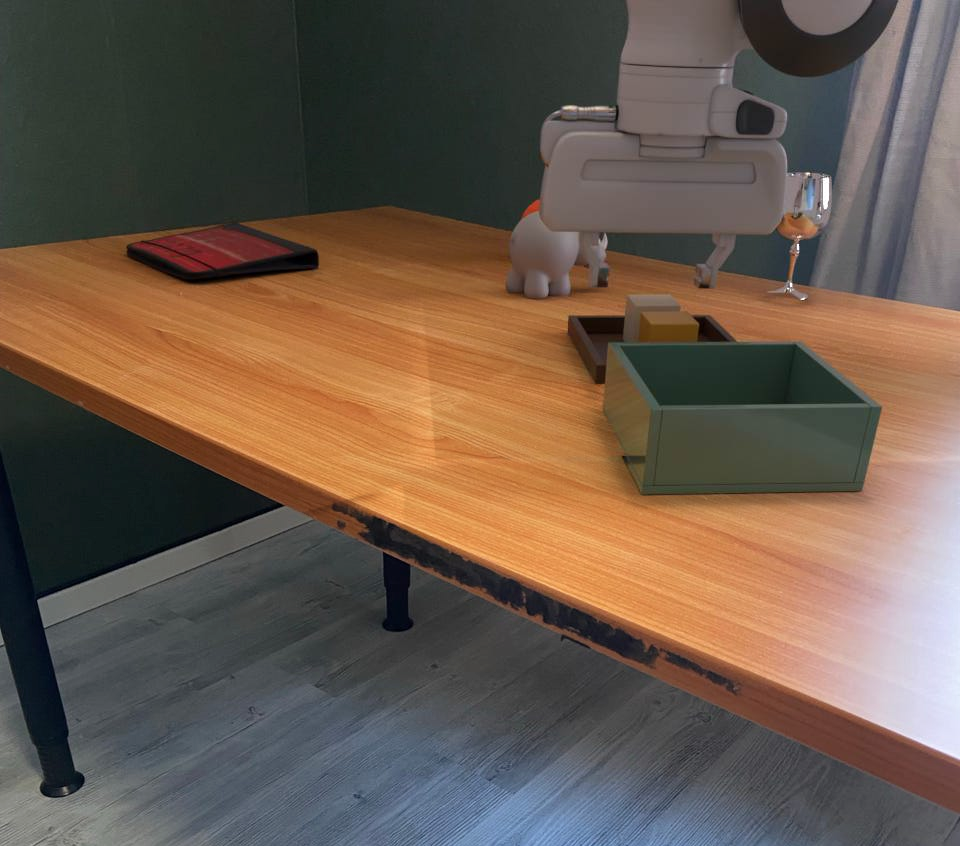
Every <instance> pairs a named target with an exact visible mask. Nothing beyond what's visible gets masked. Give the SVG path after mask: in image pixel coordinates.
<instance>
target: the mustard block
mask: <svg viewBox="0 0 960 846" xmlns="http://www.w3.org/2000/svg"><path fill="white" fill-rule="evenodd" d="M691 315H692V314H690V313H689V312H688V311H684V310H683V311H668V312H641V315H640V325H639V335H638V342H697V336H698V329H699V323H698V322H697V321H696V320H695V319H694V318H693V317H692V316H691Z"/></svg>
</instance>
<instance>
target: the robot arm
mask: <svg viewBox="0 0 960 846" xmlns="http://www.w3.org/2000/svg"><path fill="white" fill-rule="evenodd" d="M625 1H626V2H625V3H626V8H627V19H628V21H627V22H628V23H627V24H628V26H627V33H626V39H625V42H624V45H623V48H622V50H621V54H620V59H619V69H618V70H619V71H618V82H617V93H616V102H615V103H616V105H591V106H578V105H576V104H567V105H562V106H561V107H560V110H556V111H554V112H552V113H550V114H549V115H548V116H547V117H546V118H545V120H544V121H543V123H542V126H541V129H540V142H539V153H540V157H541V160H542V162H543V163H544V169H543V175H542V181H541V187H540V189H541V190H540V195H539V199H540V203H539V216H540V219H541V220H542V222H543V223H544V225H545V226H546V227H547V228H548V229H549V230H551V231H554V232H579V244H580V246H581V248H582V250H583V252H584V254H585V257H586V259H587V261H588V263H589V269H588V275H587V276H588V277H587V279H588V280H587V283H588V286H589V288H592V289H593V288H594V289H595V288H596V289H597V288H598V289H599V288H603V289H604V288H609V279H608V277H609V276H610V268H611V267H610V266H609V265H608V263H607V262H603V263H599V262H598V260H597V258H596V255H595V253H594V251H593V249H592V245H593V246H598V245H599V239H600V233H624V234H625V233H628V234H635V233H636V234H690V235H691V234H692V235H693V234H694V235H695V234H698V235H699V234H701V235H703V234H704V235H709V234H710V235H712V239H711V242H712V243H713V244H714V245H715V248H714V249H713V251H712V253H711V254H710V256H709V257H708V259H707V261H706V262H705V263H696V264H695V276H694V279H693V284H694V287H696V288H697V290H698V289H701V290H702V289H703V290H706V289H707V290H714V289H715V288H716V286H717V279H718V272H719V269H721V267H722V266H723V264H724V263H725V262H726V260H727V259H728V258H729V256H730V255H731V253H732V252H733V251H734V249H735V246H736V241H737V235H765V236H766V235H770V234H772V233H773V232H774V231H775V230H776V229H775V228H776V227H777V226H778V225H779V224H780V222H781V220H782V215H783V210H784V203H785V195H786V184H787V173H788V156H787V153H786V149H785V147H784V146H783V145H782V143H781V142H779V141H778V140H776V139H777V138H780V137H782V136H783V135H784V133H785V130H786V127H787V124H788V123H787V122H788V112H787V111H786V109H785V108H783V107H781V106H780V105H778V104H775V103H773V102H770V101H767V100H765V99H763V98H761V97H758V96H755V95H754V94H755V93H754V92H751V91H750V90H746V89H742V88H736V87H733V86H734V84H733V75H734V69H735V68H734V67H735V63H736V58H737V56H738V54H739V53H740V52H742V51H744V50H754V51H755V52H756V54H757V55H758V56H759V57H760V58H761V59H762V60H763V61H764V62H765V63H766V64H767V65H768V66H770V67H771V68H773V69H774V70H776V71H778V72H780V73H783V74H785V75H788V76H792V77H798V78H816V77H822V76H826V75H830V74H832V73H835V72H838V71H840V70H842V69H845V68H846V67H848V66H849V65H851V64H853V63H854V62H856V61H857V60H859V59H860V58H861V57H862V56H863V55H864V54H866V53H867V52H868V51H869V50H870V49H871V48H872V47H873V46H874V45H875V43H876V42H877V41H878V40H879V38H881V36H882V34H883V33H884V31H885V30H886V28H887V27H888V25H889V24H890V22H891V19H892V17H893V15H894V13H895V11H896V8H897V6H898V3H899V0H625ZM558 117H559V118H560V120H555V119H556V118H558Z"/></svg>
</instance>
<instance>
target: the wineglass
mask: <svg viewBox="0 0 960 846" xmlns="http://www.w3.org/2000/svg"><path fill="white" fill-rule="evenodd" d="M832 185H833V184H832V176H831V175H829V174H825V173H818V172H800V171H799V172H797V171H795V172H787V184H786V195H785V203H784V210H783V215H782V220H781V222H780V224H779V225H778V226H777V227H776V228H775V229H774V230H775V231H776V232H777V233H778V234H779V235H780V236H782V237H783V238H785V239H787V240H789V241H791V242H792V243H793V244H792V245H791V247H790V250H789V269H788V274H787V279H786V283H785V284H784V285H783V286H782V287H781V288H777V289H771V290H768V291H766V294H768V293H769V294H777V293H778V294H781V293H785V294H786V293H787V294H792V295H793V296H795V297H797V298H798V299H799V300H801V301H803V300H807V299H808V298H809V295H808V294H807V293H805V292H803V291H799V290H797V289H795V287H794V285H793V277H794V271H795V266H796V263H797V259H798V257H799V256H800V251H801V247H800V243H801V242H805V241H808V240H811V239H813V238H815V237H817V236H819V235H820V234H821V233H822V232H823V231H824V229H825V228H826V227H827V224H828V222H829V219H830V216H831V212H832V201H833V186H832Z"/></svg>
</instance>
